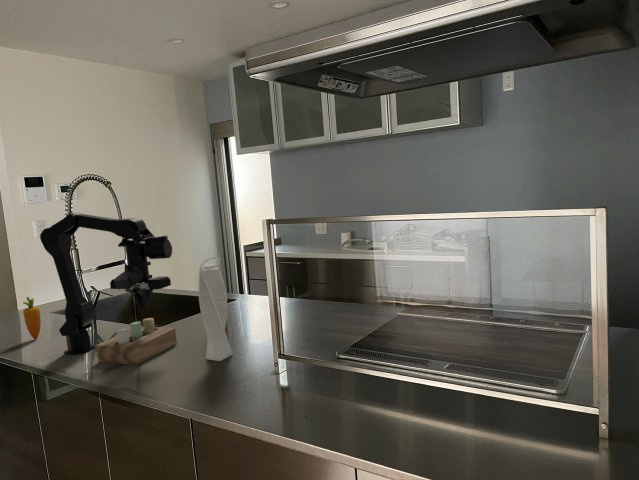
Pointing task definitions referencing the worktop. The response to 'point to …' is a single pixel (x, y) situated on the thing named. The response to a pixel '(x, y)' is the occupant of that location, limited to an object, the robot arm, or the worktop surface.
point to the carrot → (32, 318)
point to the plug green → (136, 330)
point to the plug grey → (123, 336)
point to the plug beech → (148, 325)
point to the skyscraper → (214, 310)
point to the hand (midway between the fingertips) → (143, 310)
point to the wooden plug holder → (137, 347)
